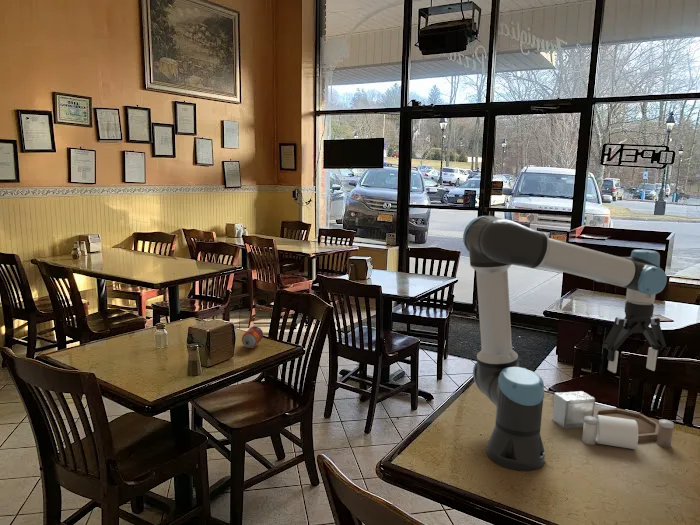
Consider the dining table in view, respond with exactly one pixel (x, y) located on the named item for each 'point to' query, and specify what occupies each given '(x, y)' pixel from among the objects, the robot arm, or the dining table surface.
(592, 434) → the salt shaker
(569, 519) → the dining table surface
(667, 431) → the pepper shaker
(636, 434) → the white cylinder
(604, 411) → the tray
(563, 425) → the white box
